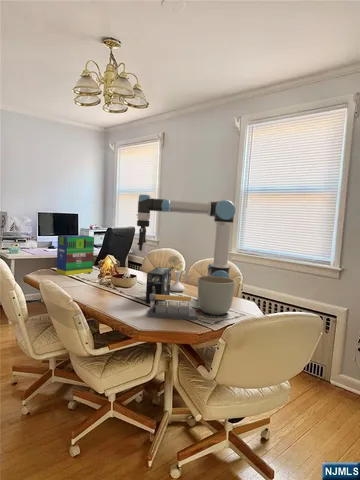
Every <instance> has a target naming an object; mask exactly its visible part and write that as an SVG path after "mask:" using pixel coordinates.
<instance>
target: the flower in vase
mask: <svg viewBox="0 0 360 480" xmlns="http://www.w3.org/2000/svg"><path fill="white" fill-rule="evenodd" d="M179 261H180V258H179V256H178V255H172V256H170V257H169V258H168V260H167V262H168V264H170V265H176V264H178V263H179ZM182 267H183V266H178V267H176V266H170V267H169V268H171V271H172V270H174V273H175V281H174V283H172V284H170V291H173V292H183V291H185V290H186V288H185V286H184V285H183V284H182V283H181V282H180V275H181V273H182V271H180V270H181V269H182Z"/></svg>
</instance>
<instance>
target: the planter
mask: <svg viewBox="0 0 360 480" xmlns="http://www.w3.org/2000/svg"><path fill="white" fill-rule="evenodd" d="M235 287H236V281H235V279H233V278H231V277H230V278H226V277H219V276H208V275H202V276H199V277H198V278H197V301H198V302H197V304H198V307H199V308H200V310H201V311H202V312H204V313H205V314H207V315H214V316H221V315H225V314H226V313H228V312H229V311H230V310H231V308H232V304H233V300H234V294H235Z"/></svg>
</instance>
